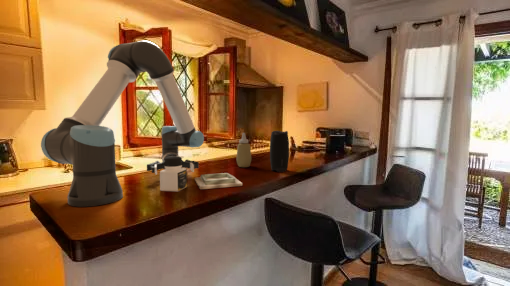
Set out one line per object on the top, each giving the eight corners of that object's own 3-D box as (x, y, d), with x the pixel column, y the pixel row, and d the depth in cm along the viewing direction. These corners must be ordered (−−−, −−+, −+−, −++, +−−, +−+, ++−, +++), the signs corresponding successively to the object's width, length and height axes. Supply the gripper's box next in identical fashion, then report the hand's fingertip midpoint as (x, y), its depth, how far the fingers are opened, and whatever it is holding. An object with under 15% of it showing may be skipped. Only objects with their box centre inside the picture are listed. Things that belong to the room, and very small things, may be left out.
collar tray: (200, 189, 101) (200, 182, 100) (194, 180, 116) (194, 174, 115) (242, 185, 106) (242, 179, 106) (231, 177, 121) (231, 171, 121)
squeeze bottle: (248, 168, 143) (248, 133, 141) (234, 167, 145) (233, 133, 144) (253, 165, 150) (253, 132, 149) (239, 164, 153) (239, 132, 151)
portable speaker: (270, 168, 141) (271, 130, 139) (289, 169, 139) (289, 130, 138) (268, 172, 133) (269, 131, 131) (288, 172, 131) (288, 131, 129)
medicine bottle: (178, 191, 97) (177, 158, 96) (159, 190, 99) (158, 157, 97) (187, 186, 104) (186, 155, 103) (169, 186, 105) (169, 154, 104)
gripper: (199, 167, 129) (207, 177, 109) (142, 171, 121) (139, 181, 101) (199, 152, 129) (207, 158, 109) (141, 154, 120) (138, 161, 100)
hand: (174, 169), depth 105 cm, fingers open, 13 cm apart
